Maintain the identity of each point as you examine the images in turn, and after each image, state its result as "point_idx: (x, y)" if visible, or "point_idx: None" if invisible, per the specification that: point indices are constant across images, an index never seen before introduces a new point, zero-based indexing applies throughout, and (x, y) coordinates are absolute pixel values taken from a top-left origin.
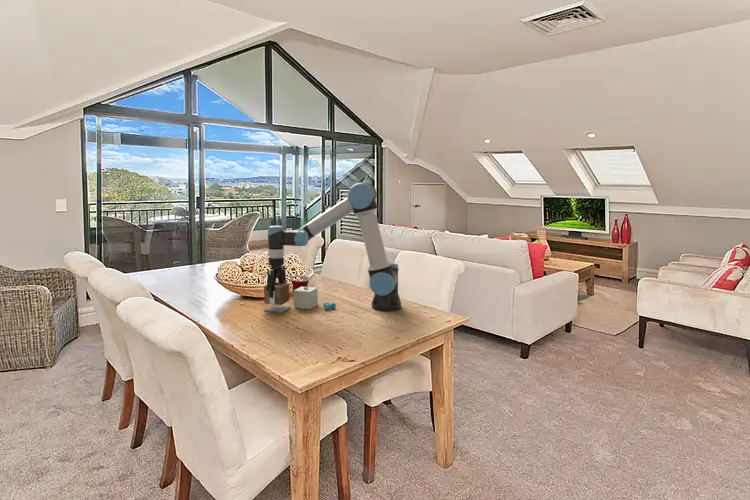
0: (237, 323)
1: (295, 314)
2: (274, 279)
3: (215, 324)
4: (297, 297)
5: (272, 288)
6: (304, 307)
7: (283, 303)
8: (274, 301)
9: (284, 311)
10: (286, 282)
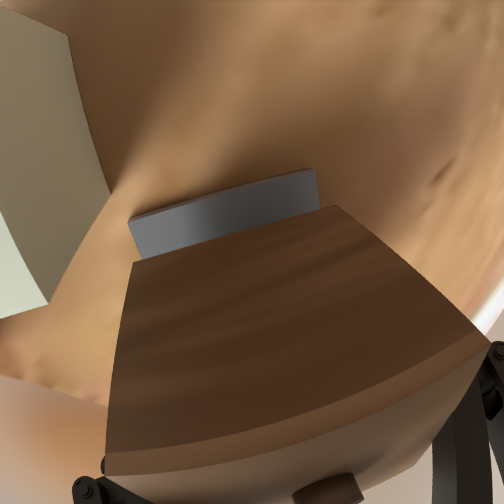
0: (498, 245)
1: (287, 35)
2: (489, 500)
3: (500, 294)
4: (59, 194)
5: (475, 381)
6: (75, 90)
7: (280, 221)
8: None
9: (262, 180)
10: (74, 493)
